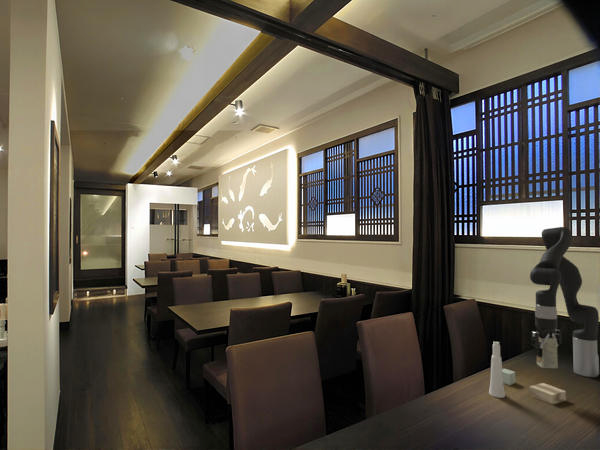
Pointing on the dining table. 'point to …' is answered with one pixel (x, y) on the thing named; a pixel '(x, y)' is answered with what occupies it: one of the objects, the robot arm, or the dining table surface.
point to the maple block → (547, 393)
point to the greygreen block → (508, 376)
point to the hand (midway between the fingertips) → (546, 355)
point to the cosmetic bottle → (496, 373)
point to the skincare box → (548, 354)
